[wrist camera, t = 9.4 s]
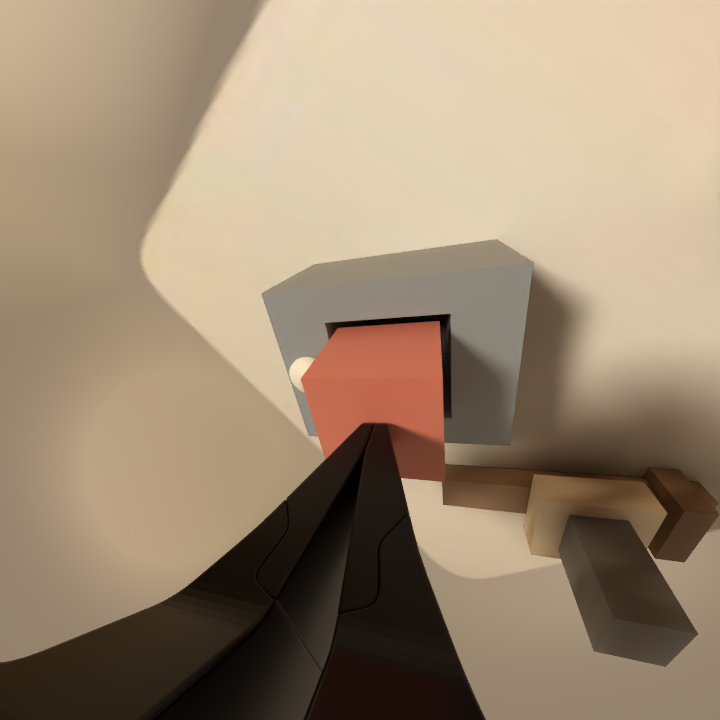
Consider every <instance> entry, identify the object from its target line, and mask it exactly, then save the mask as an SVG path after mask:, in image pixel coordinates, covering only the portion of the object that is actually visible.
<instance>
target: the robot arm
mask: <svg viewBox="0 0 720 720" xmlns="http://www.w3.org/2000/svg"><path fill="white" fill-rule="evenodd" d="M0 720H486V719H485V717H484V715H483V713H482V710H481V709H480V706H479V704H478V702H477V700H476V697H475V695H474V693H473V691H472V688H471V686H470V684H469V682H468V679H467V677H466V675H465V672H464V670H463V668H462V665H461V663H460V660H459V658H458V655H457V652H456V650H455V647H454V644H453V642H452V639H451V637H450V634H449V631H448V629H447V626H446V624H445V621H444V618H443V615H442V613H441V610H440V607H439V605H438V602H437V600H436V597H435V594H434V592H433V589H432V587H431V584H430V581H429V579H428V576H427V573H426V570H425V567H424V564H423V561H422V559H421V556H420V553H419V550H418V546H417V542H416V538H415V535H414V531H413V527H412V523H411V518H410V516H409V511H408V507H407V502H406V498H405V494H404V490H403V486H402V481H401V477H400V473H399V469H398V465H397V460H396V456H395V452H394V448H393V444H392V439H391V435H390V431H389V427H388V424H385V423H376V424H374V423H362V424H361V425H360V426H359V427H358V428H357V429H356V430H355V431H354V432H353V433H352V434H351V435H350V436H348V437H347V438H346V439H345V440H344V441H343V442H342V443H341V444H340V445H339V446H338V447H337V448H336V449H335V450H334V451H333V452H332V453H331V454H330V455H329V456H328V457H327V458H326V459H325V460H324V461H323V462H322V463H321V464H320V465H319V467H317V468H316V469H315V470H314V471H313V472H312V473H311V474H310V475H309V476H308V477H307V478H306V479H305V480H304V481H303V482H302V483H301V484H300V485H299V486H298V487H297V488H296V490H294V491H293V492H292V494H290V495H289V496H288V497H287V501H286V500H284V501H283V502H282V503H281V504H280V505H279V506H278V507H277V508H276V509H275V510H274V511H273V512H272V513H271V514H270V515H269V516H268V517H267V518H266V519H265V520H264V521H263V522H262V523H261V524H260V525H258V526H257V527H256V528H255V529H254V530H253V531H252V532H250V533H249V534H248V535H247V536H246V537H245V538H244V539H243V540H241V541H240V542H239V543H238V544H237V545H235V546H234V547H233V548H232V549H231V550H230V551H229V552H227V553H226V554H225V555H224V556H223V557H221V558H220V559H219V560H218V561H217V562H215V563H214V564H213V565H212V566H211V567H210V568H208V569H207V570H206V571H205V572H204V573H202V574H201V575H200V576H199V577H198V578H196V579H195V580H194V581H193V582H192V583H190V584H189V585H188V586H186V587H185V588H184V589H183V590H181V591H179V592H178V593H176V594H175V595H173V596H172V597H170V598H168V599H166V600H165V601H163V602H161V603H159V604H156V605H154V606H152V607H150V608H148V609H144V610H142V611H140V612H137V613H135V614H132V615H130V616H127V617H125V618H122V619H120V620H117V621H115V622H112V623H110V624H108V625H105V626H103V627H100V628H98V629H95V630H93V631H90V632H88V633H86V634H83V635H80V636H78V637H76V638H73V639H71V640H68V641H66V642H63V643H61V644H58V645H56V646H53V647H51V648H48V649H46V650H43V651H41V652H38V653H36V654H32V655H30V656H27V657H24V658H20V659H16V660H12V661H7V662H0Z"/></svg>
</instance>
